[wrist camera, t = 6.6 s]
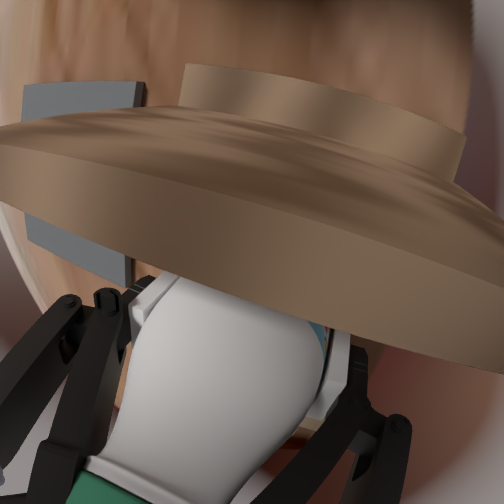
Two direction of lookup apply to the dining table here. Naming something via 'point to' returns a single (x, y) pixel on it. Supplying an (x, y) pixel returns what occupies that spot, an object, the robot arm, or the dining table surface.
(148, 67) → the dining table surface
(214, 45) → the dining table surface
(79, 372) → the robot arm
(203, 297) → the milk bottle
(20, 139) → the offcut rack
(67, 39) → the dining table surface
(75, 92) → the charcoal mat
